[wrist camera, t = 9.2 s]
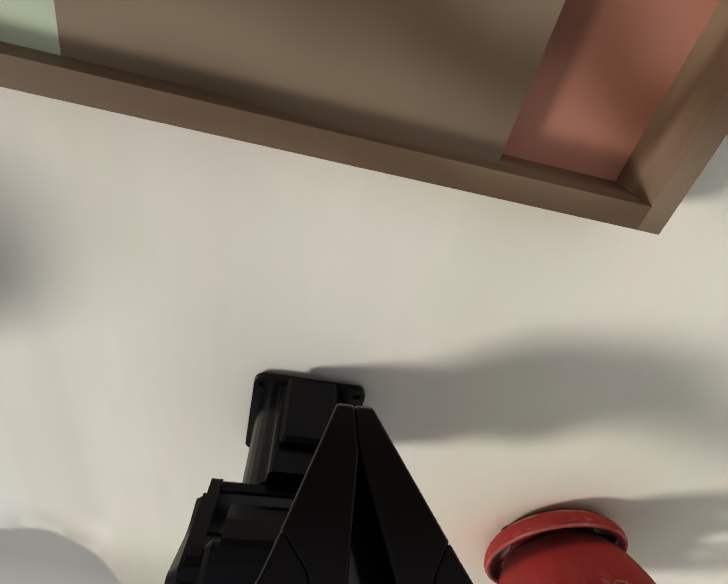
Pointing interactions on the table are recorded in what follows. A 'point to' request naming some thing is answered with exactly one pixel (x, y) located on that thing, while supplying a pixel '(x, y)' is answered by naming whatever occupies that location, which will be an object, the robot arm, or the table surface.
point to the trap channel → (413, 86)
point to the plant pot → (562, 551)
